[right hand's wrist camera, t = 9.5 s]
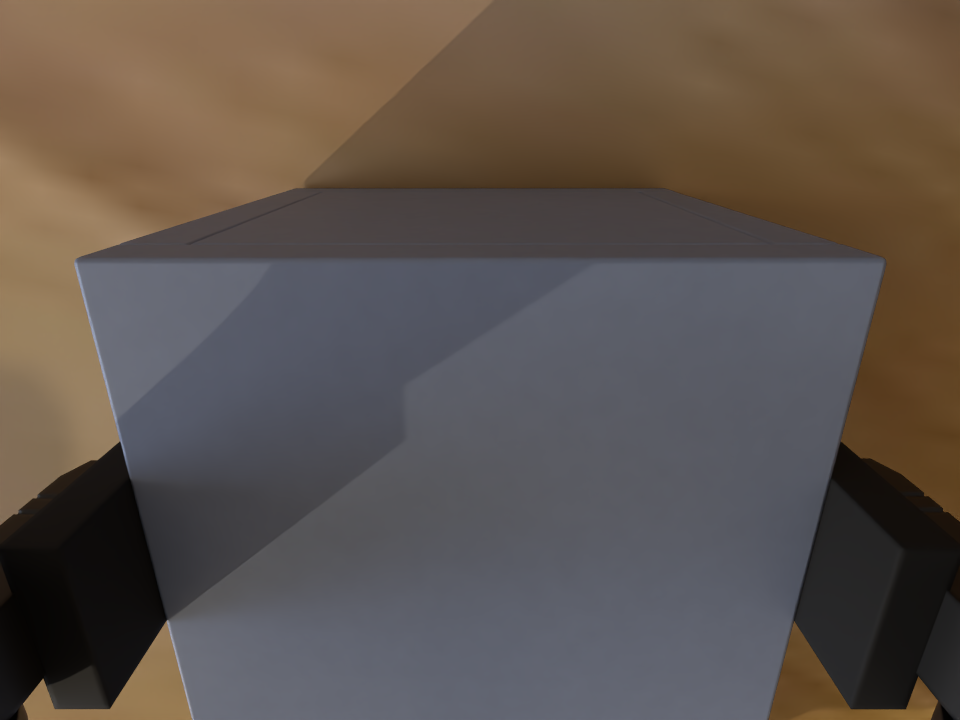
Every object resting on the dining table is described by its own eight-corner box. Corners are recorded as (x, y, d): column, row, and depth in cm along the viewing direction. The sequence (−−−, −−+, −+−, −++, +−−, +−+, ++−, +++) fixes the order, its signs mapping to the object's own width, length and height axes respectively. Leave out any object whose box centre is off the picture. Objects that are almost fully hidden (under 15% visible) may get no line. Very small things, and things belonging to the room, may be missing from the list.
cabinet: (611, 671, 23) (694, 1013, 14) (348, 672, 23) (266, 1013, 14) (666, 188, 16) (890, 257, 7) (294, 188, 16) (69, 258, 7)
